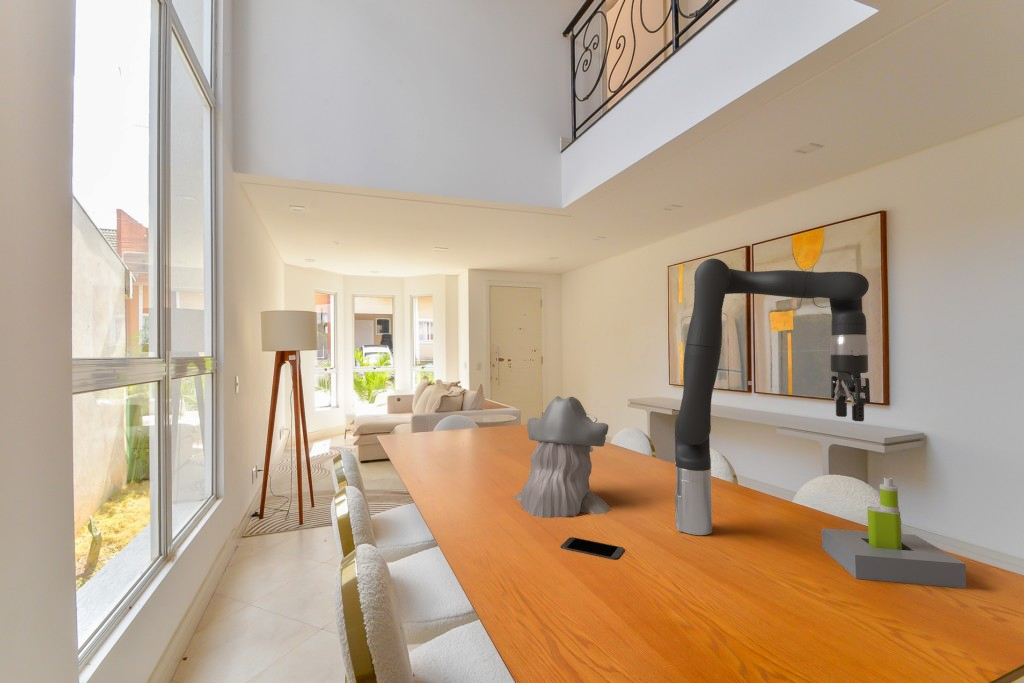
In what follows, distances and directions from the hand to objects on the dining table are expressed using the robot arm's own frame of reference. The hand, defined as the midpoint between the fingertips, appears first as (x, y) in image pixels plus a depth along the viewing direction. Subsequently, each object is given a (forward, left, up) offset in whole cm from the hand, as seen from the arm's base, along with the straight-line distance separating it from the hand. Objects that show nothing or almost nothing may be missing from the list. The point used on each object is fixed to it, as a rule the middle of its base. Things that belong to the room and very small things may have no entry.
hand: (849, 418), depth 112 cm
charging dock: (+3, -7, -33) cm, 34 cm away
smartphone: (-63, -11, -33) cm, 72 cm away
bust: (-75, +25, -33) cm, 85 cm away
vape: (+3, -7, -33) cm, 34 cm away
